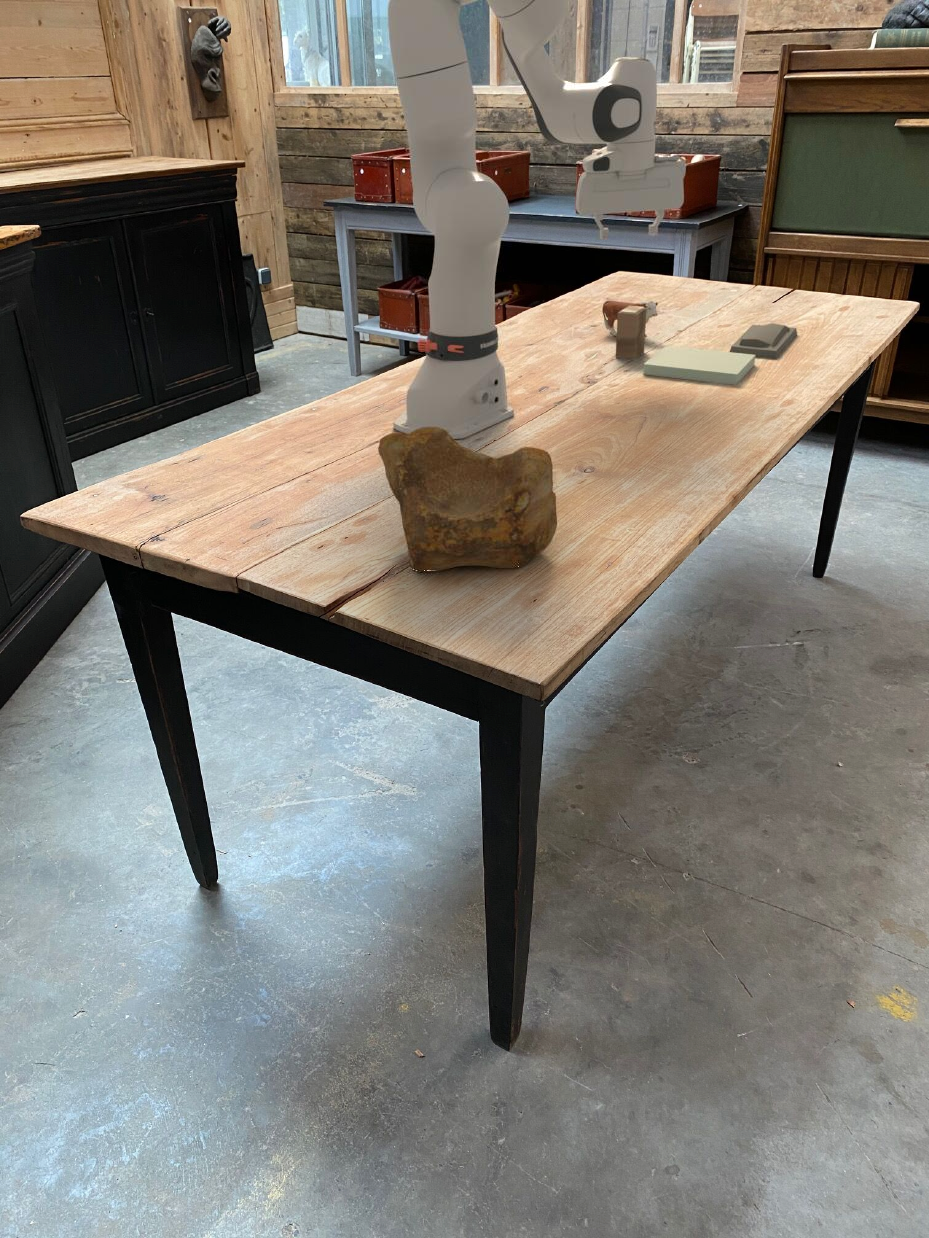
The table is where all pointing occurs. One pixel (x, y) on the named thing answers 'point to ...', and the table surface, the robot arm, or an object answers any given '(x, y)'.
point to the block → (631, 332)
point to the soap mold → (765, 340)
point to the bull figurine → (614, 307)
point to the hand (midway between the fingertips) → (628, 236)
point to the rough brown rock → (469, 501)
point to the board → (699, 365)
